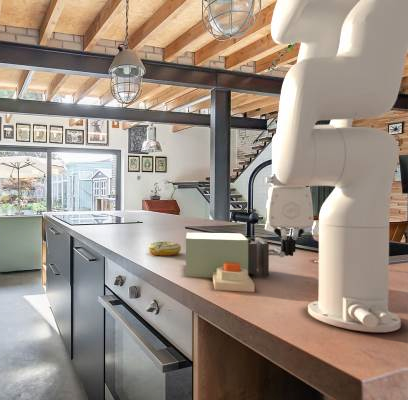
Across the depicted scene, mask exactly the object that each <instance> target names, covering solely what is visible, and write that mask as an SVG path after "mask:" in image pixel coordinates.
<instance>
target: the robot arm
mask: <svg viewBox="0 0 408 400" xmlns="http://www.w3.org/2000/svg"><path fill="white" fill-rule="evenodd" d="M270 32H271V33H270V34H271V38H272V40H273V42H275V43H276V44H278V45H288V44H300V46H299V51H298V56H297V60H296V63H294V64H293V65H292V66H291V67H290V69H289V70H288V71H287V73H286V75H285V77H284V79H283V82H282V86H281V89H280V96H279V97H280V98H279V105H278V115H277V125H276V133H275V134H274V135H273V136H272V139H271V143H272V144H271V175H270V176H269V177H265V183H266V184H270V185H271V187H269V188H268V192H267V197H266V205H265V206H266V207H265V226H264V230H265V231H267V232H269V233H273V234H274V233H275V235H276V236H278V237H279V239H280V250H281V251H283V252H284V253H285V256H284V257H289V256H290V257H294V253H296V250H297V249H296V247H297V246H296V242H297V241H296V240H298V238H299V237H301V236H302V235H303V234H308V233H312V231H313V229H312V228H313V224H314V206H313V198H312V192H311V187H334V188H333V190H332V191H331V192H330V194H329V195H328V197H327V198H325V200H324V202H323V203H322V205H321V207H320V210H319V214H318V221H319V242H318V260H319V263H318V299H317V300H314V301H312V302H310V303H309V304H308V305H307V312H308V314H309V315H310V316H311V317H312V318H313V319H316V320H317V321H319V322H321V323H323V324H324V323H325V324H327V325H331V326H333V327H338V328H341V329H346V330H351V331H357V332H358V331H359V332H365V333H391V332H396V331H397V330H399V329H400V328H401V326H402V321H401V320H402V319H401V318H400V317H399V316H398V315H397V314H395V313H393V312H392V311H389V278H390V277H389V272H390V271H389V270H390V269H389V267H390V213H391V212H390V211H391V194H392V189H393V188H392V187H393V183H394V179H395V174H396V170H397V166H398V162H399V161H398V160H399V156H400V155H399V152H400V150H399V144H398V142H397V140H396V138H395V137H394V135H392V134H391V133H390V132H388V131H386V130H384V129H381V128H377V127H370V126H353V123H354V120H357V119H358V120H359V119H360V120H361V119H371V118H376V117H380V116H383V115H386V114H387V113H389V111H390V110H392V108H393V107H394V106H395V103H396V102H397V99H398V95H399V93H400V92H399V91H400V88H401V85H402V80H403V75H404V71H405V67H406V61H407V57H408V0H276V3H275V5H274V9H273V13H272V17H271V25H270ZM318 121H319V122H320V121H330V122H329V123H328V124H316V123H318ZM287 229H290V230H289V235H287Z"/></svg>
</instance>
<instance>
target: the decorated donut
mask: <svg viewBox="0 0 408 400" xmlns="http://www.w3.org/2000/svg"><path fill="white" fill-rule="evenodd" d="M181 250H182V247H181V244H180V243H177V242H173V241H165V240H163V241H154V242H152V243H150V244H149V245H148V251H149V253H150V254H151V255H153V256H164V257H167V256H169V257H170V256H175V255H178V254H179V253H180V252H181Z"/></svg>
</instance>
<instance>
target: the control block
mask: <svg viewBox="0 0 408 400" xmlns="http://www.w3.org/2000/svg"><path fill="white" fill-rule="evenodd" d="M211 279H212V283H213V287H214V290H216V291H233V292H249V293H250V292H251V293H254V292H255V282H254V281H253V280H252V278H251V277H250V275H249V273H248V271H247V270H246V269H243V268H240V272H229V271H224V267H219V268H217V272H212V278H211Z"/></svg>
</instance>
